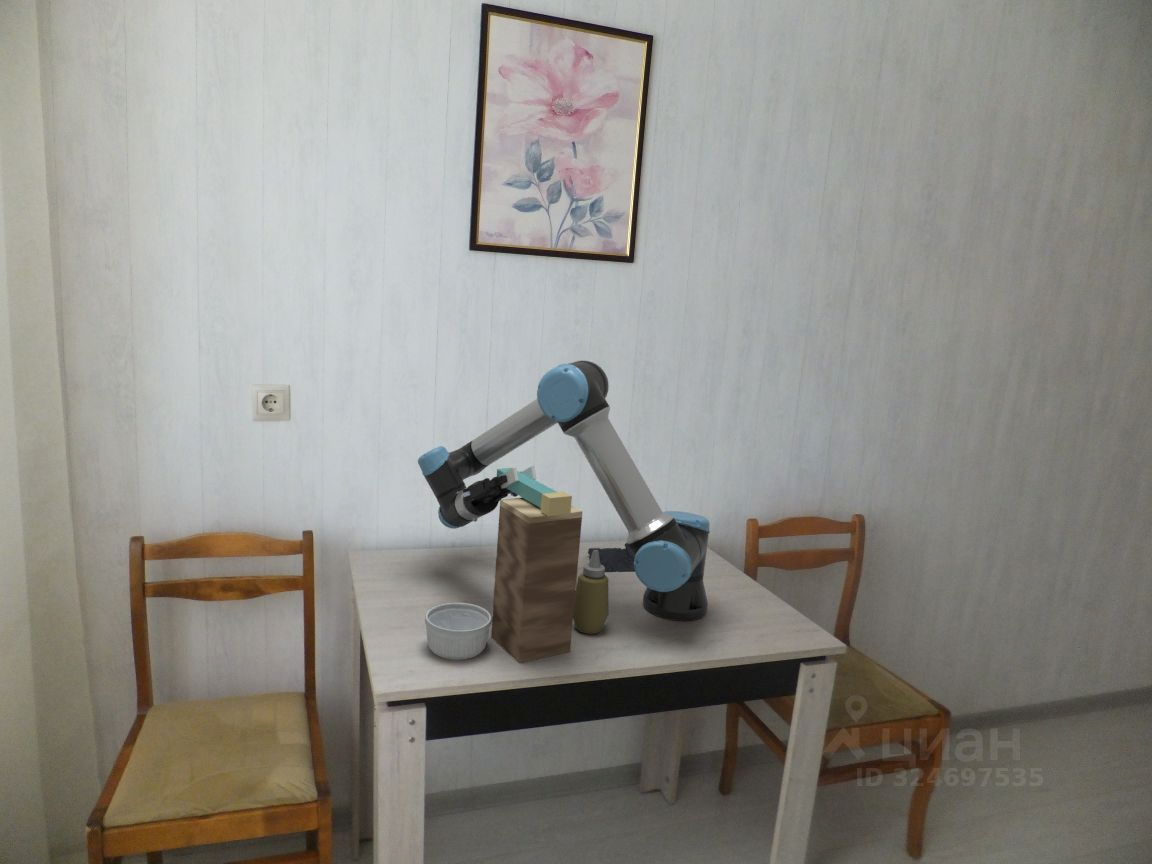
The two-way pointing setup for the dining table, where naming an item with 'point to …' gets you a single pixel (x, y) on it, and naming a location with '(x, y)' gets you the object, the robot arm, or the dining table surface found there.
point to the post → (535, 580)
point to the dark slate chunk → (616, 559)
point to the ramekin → (457, 630)
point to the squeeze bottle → (591, 597)
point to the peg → (540, 494)
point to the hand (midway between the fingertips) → (524, 473)
